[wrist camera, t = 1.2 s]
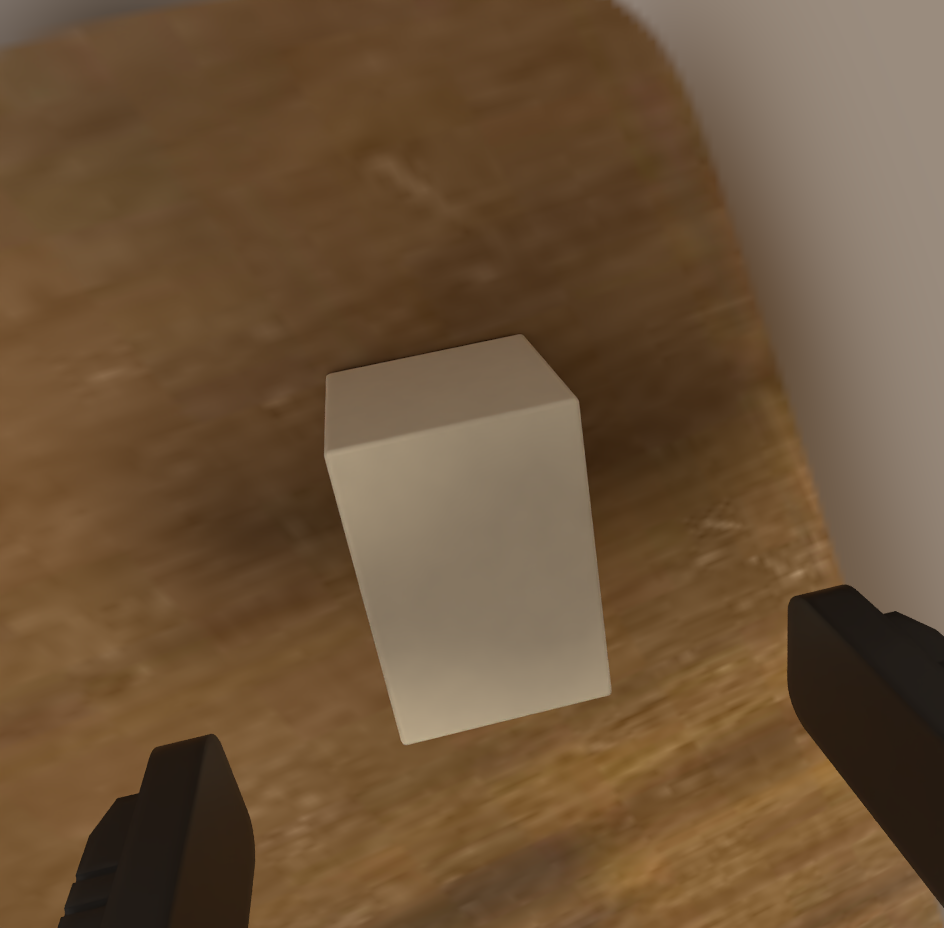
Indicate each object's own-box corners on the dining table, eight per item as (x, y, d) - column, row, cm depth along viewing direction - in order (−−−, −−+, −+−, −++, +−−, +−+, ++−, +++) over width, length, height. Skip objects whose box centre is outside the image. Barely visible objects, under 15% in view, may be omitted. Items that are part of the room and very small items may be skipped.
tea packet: (324, 372, 15) (322, 453, 12) (523, 332, 16) (580, 397, 12) (388, 620, 18) (402, 748, 14) (557, 580, 18) (613, 696, 15)
